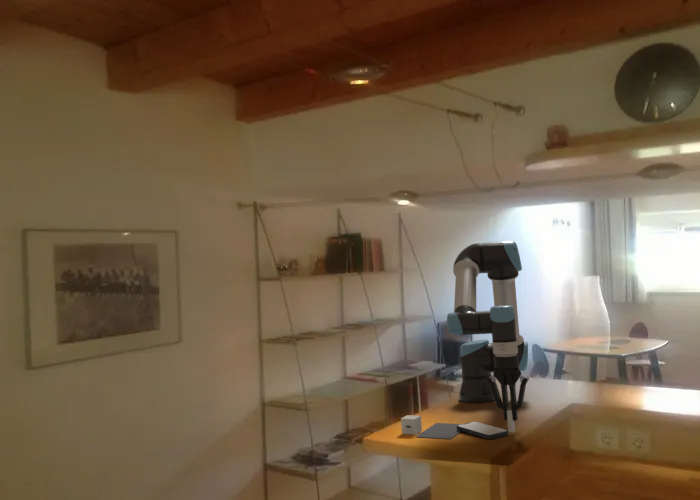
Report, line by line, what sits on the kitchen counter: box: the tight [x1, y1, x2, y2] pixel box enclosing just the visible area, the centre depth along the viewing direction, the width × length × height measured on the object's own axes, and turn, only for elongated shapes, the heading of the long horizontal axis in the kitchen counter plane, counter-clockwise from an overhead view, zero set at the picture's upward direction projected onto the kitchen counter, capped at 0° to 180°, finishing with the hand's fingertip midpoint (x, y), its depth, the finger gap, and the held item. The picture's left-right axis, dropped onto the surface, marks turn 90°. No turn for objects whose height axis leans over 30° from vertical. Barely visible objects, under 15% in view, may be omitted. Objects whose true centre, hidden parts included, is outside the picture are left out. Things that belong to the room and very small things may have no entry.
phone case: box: [457, 421, 509, 440], centre depth 203 cm, size 9×2×16 cm
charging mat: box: [415, 422, 462, 440], centre depth 209 cm, size 19×12×1 cm, turn 152°
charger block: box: [400, 414, 423, 436], centre depth 210 cm, size 5×5×5 cm
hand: (511, 430), depth 198 cm, fingers closed
